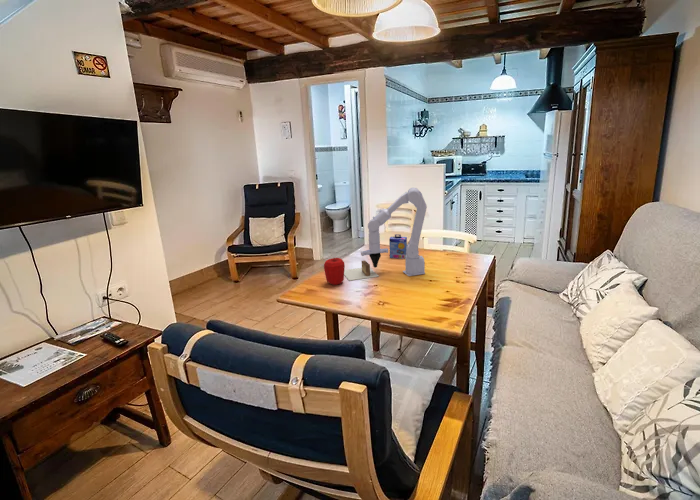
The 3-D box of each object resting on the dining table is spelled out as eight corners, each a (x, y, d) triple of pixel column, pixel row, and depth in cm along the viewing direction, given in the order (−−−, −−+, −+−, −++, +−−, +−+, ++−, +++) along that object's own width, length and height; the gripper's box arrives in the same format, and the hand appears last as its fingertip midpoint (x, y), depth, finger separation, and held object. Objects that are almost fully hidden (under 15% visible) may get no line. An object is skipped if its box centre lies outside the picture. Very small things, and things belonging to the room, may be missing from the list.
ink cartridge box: (389, 258, 228) (388, 234, 224) (390, 255, 233) (390, 232, 229) (406, 259, 225) (405, 235, 221) (407, 256, 230) (406, 232, 226)
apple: (331, 278, 200) (329, 253, 196) (349, 280, 195) (347, 255, 191) (321, 285, 191) (319, 259, 187) (339, 288, 186) (337, 261, 182)
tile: (365, 271, 207) (365, 260, 205) (370, 275, 200) (369, 264, 198) (361, 271, 206) (361, 260, 205) (366, 276, 199) (366, 265, 197)
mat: (369, 267, 214) (369, 266, 214) (378, 276, 199) (378, 275, 199) (341, 271, 210) (341, 270, 210) (349, 281, 195) (349, 280, 195)
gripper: (384, 238, 205) (385, 263, 209) (358, 242, 202) (359, 266, 205) (389, 242, 199) (390, 266, 202) (362, 245, 195) (363, 270, 199)
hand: (375, 267), depth 203 cm, fingers closed
